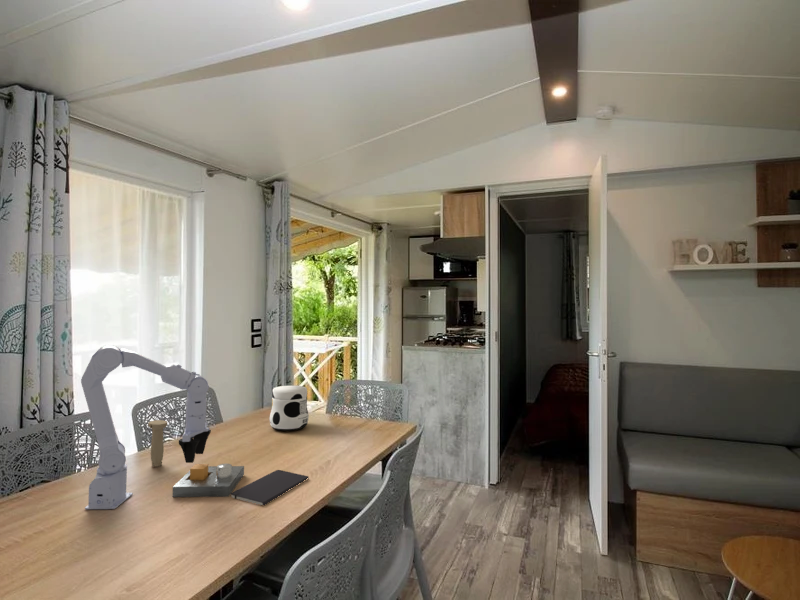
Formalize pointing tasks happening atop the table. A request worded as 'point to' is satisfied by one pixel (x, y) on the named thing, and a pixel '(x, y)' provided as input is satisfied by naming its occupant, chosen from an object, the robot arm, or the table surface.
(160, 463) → the handle
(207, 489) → the hub plate
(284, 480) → the notebook
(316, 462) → the table surface
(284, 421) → the milk container
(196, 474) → the orange rectangular block
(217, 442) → the table surface
